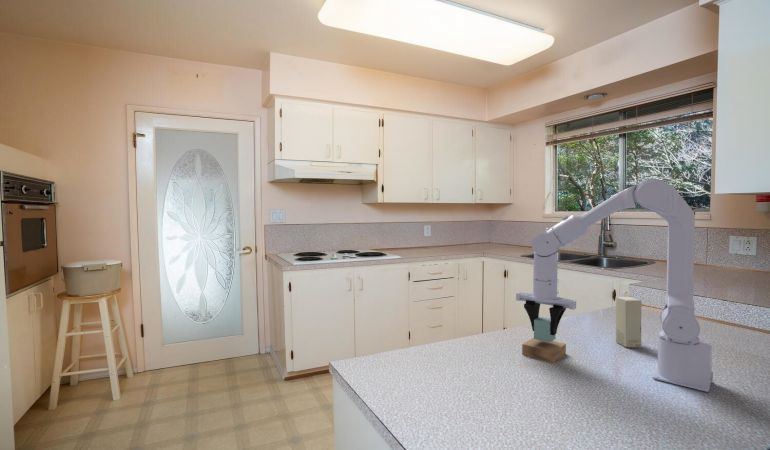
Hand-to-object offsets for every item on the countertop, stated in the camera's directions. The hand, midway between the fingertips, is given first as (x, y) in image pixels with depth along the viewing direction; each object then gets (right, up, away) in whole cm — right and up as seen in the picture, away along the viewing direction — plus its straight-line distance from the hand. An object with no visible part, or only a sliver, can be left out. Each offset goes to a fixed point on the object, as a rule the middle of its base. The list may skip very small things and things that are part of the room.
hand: (544, 332), depth 99 cm
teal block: (0, -2, 0) cm, 2 cm away
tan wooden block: (0, -6, 0) cm, 6 cm away
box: (+26, -6, +7) cm, 28 cm away
